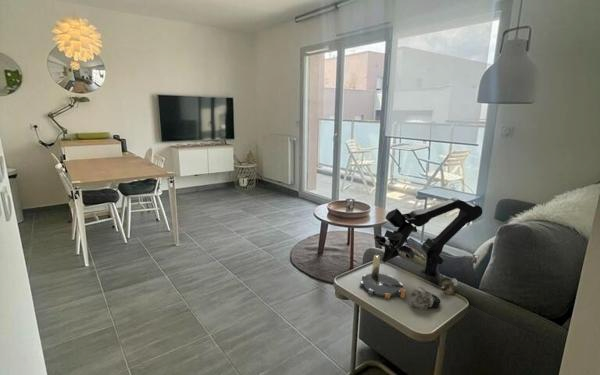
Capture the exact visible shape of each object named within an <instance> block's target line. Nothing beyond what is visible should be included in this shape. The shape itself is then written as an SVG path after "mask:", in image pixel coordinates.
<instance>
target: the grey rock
mask: <svg viewBox="0 0 600 375" xmlns="http://www.w3.org/2000/svg"><path fill="white" fill-rule="evenodd" d="M408 305H410V306H411V307H414V308H416V309H418V310H419V309H420V310H422V311H423V310H425V311H428V308H434V309H438V308H439V306H440V305H441V299H440V298H439V297H438V296H436V295H435V294H433V293H431V292H429V291H427V290H425V288H424V287H422V286H418V287H416V288H414V289H413V291H412V292H411V294H410V299H409V302H408Z"/></svg>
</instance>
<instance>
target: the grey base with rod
mask: <svg viewBox="0 0 600 375" xmlns="http://www.w3.org/2000/svg"><path fill="white" fill-rule="evenodd" d="M372 259H373V262H372V265H371V266H372V268H371V273H368V274H366V273H364V274H362V275H361V276H362V277H361V280H360V281H359V286H360V287H361V288H363V289H364V291H366V292H367V294H369V295H371V296H376V297H380V298H383V299H387V300H388V299H390V298H394V297H400V295H401V290H400V288H402V289H404V284H403V283H402V282H399V281H398V280H397V279H396V278H395V277H394V276H393V275H391V274H389V275H387V274H384V273H380V267H381V260H382V256H381V255H379V254H374V255H373V258H372Z"/></svg>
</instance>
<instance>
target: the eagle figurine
mask: <svg viewBox="0 0 600 375" xmlns="http://www.w3.org/2000/svg"><path fill="white" fill-rule="evenodd" d="M441 278H442V279H440V281H439V282H438V287H440V286H441V289H442V288H443V289H445V290H444V291H443V292H442V293H443V294H444V295H448V296H455V292H456V288H455V287H456V286H458V280H457V279H456V278H454V277H453V278H449V277H447V276H446V277H444V275H443V274H441ZM454 286H455V287H454ZM443 289H442V290H443Z"/></svg>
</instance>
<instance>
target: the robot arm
mask: <svg viewBox="0 0 600 375" xmlns="http://www.w3.org/2000/svg"><path fill="white" fill-rule="evenodd" d="M457 209H458V210H459V212H458V214H457V216H456V217H455V218H454V219H453V220H452V221H451V222H450V223H449V224H448V225H447V226H446V227H445V228H444V229H443V230H442V231H441V232H439V234H438V235H437V236H435V237H433V238H430V237H428V238H426V240H425V241H424V242H422V245H421V252H422V253H423V255H424V257H425V263H424V264H425V265H424V267H423V268H422V269H421V272H422V273H423V274H427V275H429V276H432V277H436V276H438V275H439V274H440V273H441V271H440V270H439V265H442V263H443V262H444V259H443V258H442V257H441V253H442V252H443V249H444V247H445V245H446V244H447V243H448V242H449V241H451V239H452V238H454V236H455V235H457V233H459V231H460V230H462V229H463V228H464V227H465V226H466V225H467V224H468V223H471V222H474V221H476V220H478V219H479V218H480V217H481V216H482V215H483V208H482V206H481V205H478V204H476V203H474V202H472V201H463V200H462V199H461V200H460V199H459V198H457V197H452V198H450V199H448V200H445V201H443V202H440V203H438V204H436V205H433V206H431V207H429V208H424V209H423V208H422V209H421V208H420V209H415V210H412V211H410V212H407V213H402V212H401V211H400V210H399V209H398V208H395V209H392V210H391V211H389V212H388V213H387V214H386V215H385V220H387V222H388V223H389V224H391V225H392V227H394V228H397V229H396V230H393V231H390V230H388V229H386V231H385V233H384V235H381V234H376V235H375V236H374V237H373V239H374V240H375V242H376V243H377V244H378V245H379V246H381V247H383V248H384V252H383V257H382V259H381V260H382V262H383V263H387V262H388V261H390V260H393V259H394V258H397V257H400V256H401V254H402V253H403V254H405V257H406V258H407V259H410V260H412V261H413V259H415V258H414V257H415V252H414V251H413V249H412V248H411V247H409V246H407V245H404V244H405V243H408V239H409V237H410V235H411V234H412V233H418V229H417V227H419V228H420V227H423V226H425V225H426V224H428V223H429V222H430V221H431V220H432V219H433V218H436V217H439V216H441V215H444V214H446V213H449V212H452V211H454V210H457ZM386 238H387V239H386Z"/></svg>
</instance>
